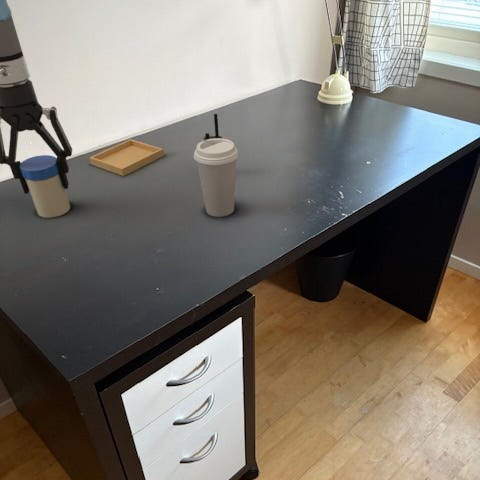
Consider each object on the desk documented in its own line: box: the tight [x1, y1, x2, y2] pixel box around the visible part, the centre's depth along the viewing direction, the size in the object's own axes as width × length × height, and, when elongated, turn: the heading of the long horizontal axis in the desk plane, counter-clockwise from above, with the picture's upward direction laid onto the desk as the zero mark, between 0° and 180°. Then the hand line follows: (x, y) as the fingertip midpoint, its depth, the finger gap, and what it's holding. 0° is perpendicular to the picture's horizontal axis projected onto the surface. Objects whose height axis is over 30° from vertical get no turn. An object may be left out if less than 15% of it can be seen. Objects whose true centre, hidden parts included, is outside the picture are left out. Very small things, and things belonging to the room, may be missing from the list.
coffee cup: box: [193, 138, 239, 218], centre depth 105 cm, size 10×10×15 cm
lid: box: [19, 154, 59, 180], centre depth 106 cm, size 8×8×2 cm
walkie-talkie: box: [202, 113, 223, 141], centre depth 119 cm, size 5×3×15 cm
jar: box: [25, 173, 71, 219], centre depth 109 cm, size 8×8×11 cm
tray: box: [89, 138, 165, 177], centre depth 131 cm, size 13×15×2 cm
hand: (47, 188), depth 109 cm, fingers closed on lid, 8 cm apart
